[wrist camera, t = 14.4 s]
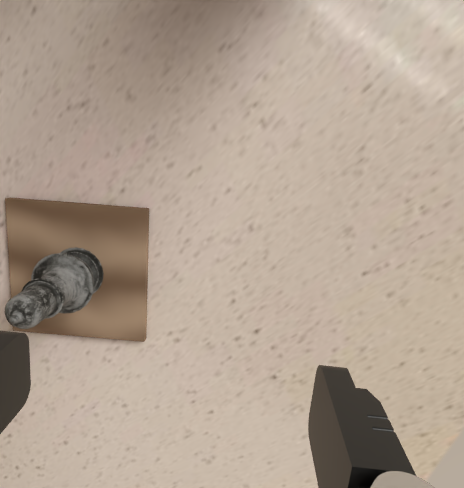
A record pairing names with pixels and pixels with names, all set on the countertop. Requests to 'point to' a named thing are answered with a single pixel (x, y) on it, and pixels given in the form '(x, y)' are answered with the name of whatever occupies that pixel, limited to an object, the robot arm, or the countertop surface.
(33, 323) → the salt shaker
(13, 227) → the walnut pad
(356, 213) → the countertop surface
